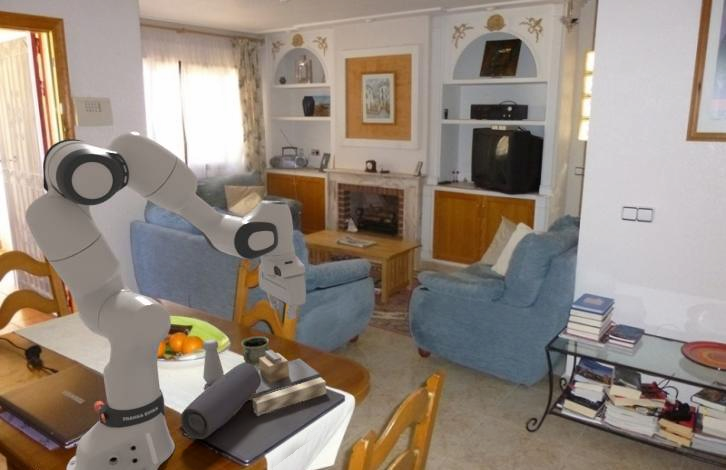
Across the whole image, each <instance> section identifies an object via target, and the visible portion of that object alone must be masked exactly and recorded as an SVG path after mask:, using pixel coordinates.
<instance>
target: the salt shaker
mask: <svg viewBox="0 0 726 470" xmlns="http://www.w3.org/2000/svg"><path fill="white" fill-rule="evenodd" d="M218 348H219V342H218V340H217V339H216V338H215V339H214V338H209V339H206V340H204V341H203V343H202V349H203V350H204V351H205V353H204V362H203V363H204V364H203V374H202V375H203V376H202V377H203V379H204V381H205V382H206V383H207V385H208V386H211V385H212V384H213V383H214V382H215V381H217V380H218V379H219V378H221V377H222V376H223V375H224V374H225V372H224V368H223V366H222V362H221V359H220V356H219V355H220V354H219V351H218Z"/></svg>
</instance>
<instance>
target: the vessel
mask: <svg viewBox="0 0 726 470" xmlns="http://www.w3.org/2000/svg"><path fill="white" fill-rule="evenodd" d="M269 342H270V341H269V338H267V337H266V336H251V337H248V338H245V339H243V340H242V341H241V346H242V352H241V354H242V355H241V356H242V357H243V360H244V363H248V364H251V365H252V366H257V365H259V366H260V363H259V358H261V357H264V356H265V351H268V350H271V348H270V346H269Z"/></svg>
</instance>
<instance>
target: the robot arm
mask: <svg viewBox="0 0 726 470" xmlns="http://www.w3.org/2000/svg"><path fill="white" fill-rule="evenodd" d="M42 172H43V173H42V175H43V180H42V181H43V184H42V185H43V189H44V190H45V191H46V192H45V193H44V194H43V195H41V196H39V197H38V198H36V199H34V200H33V201H32V202H31V204H30V205H29V206H28V207H27V209H26V210H25V221H26V224H27V227H28V228H29V231H30V233H31V235H32V237H33V239H34V241H35V242H36V245H37V246H38V248H39V250H40V251H41V253H42V254H43V255H44V257H45V258H46V260H47V261H48V262H49V264H50V265H51V267H53V269H54V271H55V272H56V273H57V275H58V276H59V277H60V279H61V281H62V282H63V283H64V285H65V286H66V287H67V289H68V291H69V293H70V295H71V297H72V299H73V301H74V304H75V306H76V308H77V312H78V313H77V314H78V318H79V319H80V321H81V323H83V325H84V326H85V327H86V328H87V329H89V331H90V332H92V333H94V334H96V335H98V336H100V337H102V338H104V339H107V341H108V342H109V347H110V356H109V362H108V363H107V364H106V365H105V366H104V368H103V380H104V388H105V395H106V402H105V403H104V402H103V401H101V400H98V401H96V402H95V403H94V405H93V407H94V411H95V413H98V419H99V421H97V422H96V423H95V424H94V425H93V426H92V427H91V428H90V429H89V430H87V431H86V433H85V434H83V435H82V436H81V438H79V441H78V442H77V447H76V451H75V455H74V456H73V457H72V458H70V460H69V461H68V463H67V465H66V469H65V470H158V469H159V467H161V466H160V465H162V464H163V463H164V462H165V461H167V460H168V459H169V458H170V457H171V455H172V454H173V453H174V450H175V443H174V442H175V441H174V440H173V438H172V437H171V434H170V431H169V428H168V425H167V421H166V417H165V415H166V411H165V410H166V406H165V405H166V404H165V397H164V394H163V391H162V389H161V385H160V377H159V369H158V357H159V350H160V345H161V343H162V342H164V341H165V340H166V337H168V335H169V332H170V330H171V324H172V320H171V315H170V312H169V310H167V308H166V307H165V306H163V305H162V304H161V303H160V302H158V301H157V300H156V299H154V298H153V297H150V296H147V295H144V294H141V293H136V292H134V291H132V289H130V288H129V287H128V286H127V285H126V284H125V282H124V281H123V280H124V279H123V277H122V274H121V271H120V270H121V269H120V268H121V260H120V259H119V257H118V255H117V254H116V252H115V250H114V249H113V248H112V246H111V245H110V243H109V241H108V240H107V238H106V237H105V235H104V233H103V232H102V230H101V228H100V227H99V226H98V225H97V223H96V221H95V220H94V218H93V216H92V214H91V211H90V206H97V205H100V204H103V203H105V202H106V201H108V200H110V199H111V198H112V197H114V195H115V194H116V193H118V192H119V191H120V190H123V189H124V188H125V187H128V188H130V189H131V190H133V191H134V192H136V193H137V194H139V196H142V197H143V198H144V199H146V200H147V201H149V202H150V203H152V204H154V205H157V206H158V207H160V208H162V209H164V210H167V211H169V212H172V213H175V214H177V215H178V216H180V217H181V218H182V219H183V220H185V221H187V222H188V223H189V224H190V225H191V226H193V227H194V228H195V229H197V230H198V231H199V232H200V233H201V234H202V235H203V237H204V240H205V241H206V243H207V244H208V245H209V247H210V248H211V249H212V250H213V251H215V252H217V253H219V254H225V255H231V256H234V257H238V258H240V259H241V258H242V259H246V260H249V259H250V260H253V259H256V258H260V264H259V265H258V285H259V288H260V290H262V291H263V292H266V296H267V298H268V301H269V304H270V308H271V309H273V310H279V308H280V305H279V304H280V303H279V301H278V300H280V301H281V302H284V303H285V304H287V305H286V306H287V308H288V309H287V310H288V311H286V317H287V318H288V319H289V320H294V319H296V317H297V313H296V312H297V309H298V306H302V305H304V304H305V303H306V300H307V289H306V278H305V276H304V274H305V273H306V265H304V263H303V262H302V261H301V260H300V259H299V257H298V256H297V254H296V248H295V245H294V240H293V238H294V224H293V217H292V212H291V208H290V207H289V205H288V204H287V203H286V202H283V201H279V200H269V199H268V200H267V199H265V200H260V201H258V203H257V205H256V206H255V208H253V210H251V211H250V212H249V213H247V214H246V215H245V216H242V217H241V216H235V215H233V214H229V213H224V212H220V211H217V210H216V209H215V208H213V207H212V206H211V205H210V204H209V203H207V202H206V201H205V200H204V199H202V198H201V197H200V196H198V195H197V194H196V193H197V191H198V184H199V183H198V178H197V174H196V173H195V172H194V171H193V170H192V169H191V168H190V167H189V165H188V164H187V163H185V162H184V161H183V160H182V159H181V158H179V157H178V156H177V155H176V154H175V153H173V152H171V150H169V149H167V148H166V147H164V146H163V145H162V144H160V143H159V142H156V141H155V140H154V139H151V138H150V137H147V136H145V135H144V134H142V133H140V132H137V131H125V132H124V133H121V134H119V135H117V136H116V137H115V138H114V139H113V140H112V141H111V142H110V144H109V145H106V146H105V147H97V146H95V145H93V144H90V143H88V142H86V141H83V140H80V139H75V138H71V139H70V138H69V139H62V140H60V141H57V142H56V143H54V144H53V145H52V146H50V147H49V149H47V151H46V153H45V154H44V157H43V163H42Z"/></svg>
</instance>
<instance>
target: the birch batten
mask: <svg viewBox="0 0 726 470" xmlns="http://www.w3.org/2000/svg"><path fill="white" fill-rule="evenodd" d="M326 385H327V384H326V380H324V378H323V377H321V376H320V377H319V378H316V379H313V380H310V381H307V382H304V383H301V384H297V385H294V386H291V387H288V388H285V389H282V390H278V391H275V392H272V393H269V394H266V395H263V396H260V397H256V398H253V399H252V400H251V401H252V409H253V408H254V410H255V411H256V412H257V414H259V413H262V412H266V411H269V410H273V409H276V408H279V407H283V406H287V405H291V404H294V405H296V404H295V403H297V404H299V403H298V402H300V403H302V402H301V401H303V402H305V400H306V401H309V400H311V399H314V398H317V397H321V396H323V395H327V387H326ZM308 399H309V400H308ZM291 406H292V405H291Z"/></svg>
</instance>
